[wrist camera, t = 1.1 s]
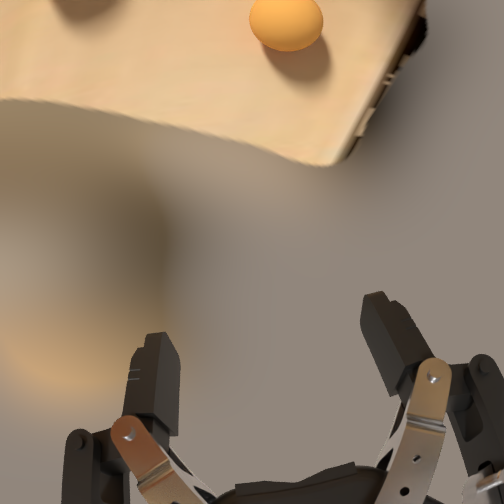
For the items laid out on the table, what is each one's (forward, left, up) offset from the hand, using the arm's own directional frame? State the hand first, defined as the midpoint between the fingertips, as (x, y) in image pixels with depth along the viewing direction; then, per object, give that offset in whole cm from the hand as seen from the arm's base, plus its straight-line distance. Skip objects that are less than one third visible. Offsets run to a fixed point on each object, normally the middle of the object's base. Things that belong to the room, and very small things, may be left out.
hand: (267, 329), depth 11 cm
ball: (-10, +8, -17) cm, 21 cm away
